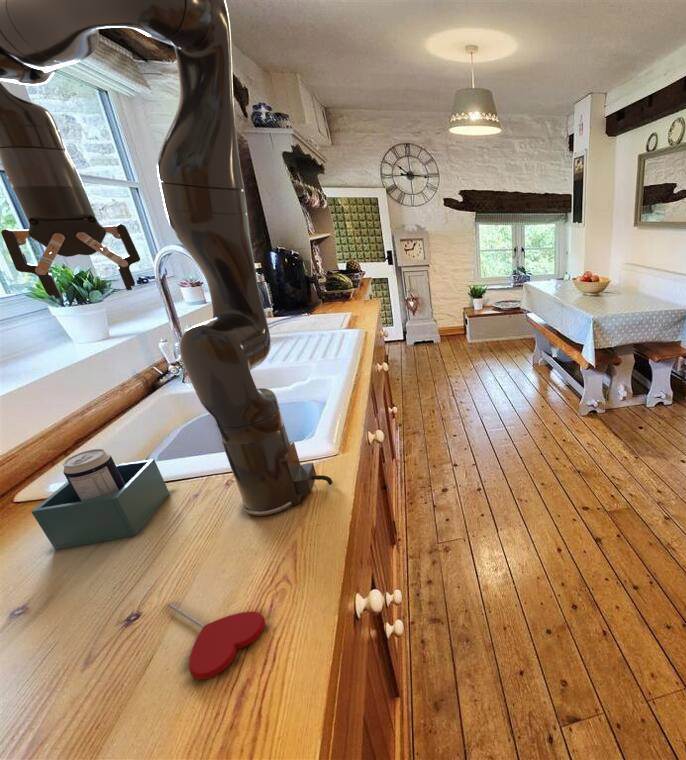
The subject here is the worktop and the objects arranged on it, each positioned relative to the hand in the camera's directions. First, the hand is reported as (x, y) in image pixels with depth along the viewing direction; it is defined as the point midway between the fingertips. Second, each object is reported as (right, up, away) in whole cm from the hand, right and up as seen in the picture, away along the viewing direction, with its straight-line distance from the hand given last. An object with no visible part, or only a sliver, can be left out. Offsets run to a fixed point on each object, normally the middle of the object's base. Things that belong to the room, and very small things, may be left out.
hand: (95, 293), depth 67 cm
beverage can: (+1, -38, +3) cm, 38 cm away
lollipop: (+30, -45, -16) cm, 57 cm away
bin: (+1, -38, +3) cm, 38 cm away
